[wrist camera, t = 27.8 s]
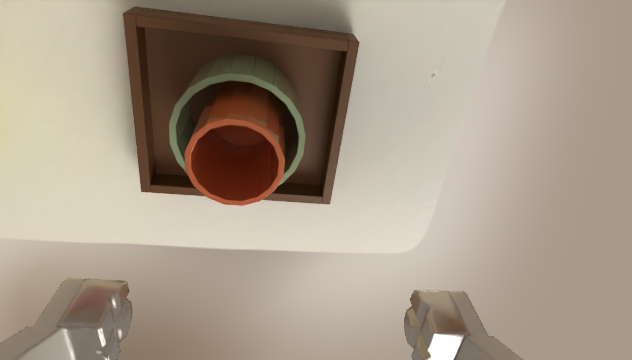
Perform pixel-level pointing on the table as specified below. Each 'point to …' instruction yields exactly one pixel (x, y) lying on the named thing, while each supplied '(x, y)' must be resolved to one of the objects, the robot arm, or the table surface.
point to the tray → (196, 51)
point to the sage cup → (243, 71)
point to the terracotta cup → (237, 144)
